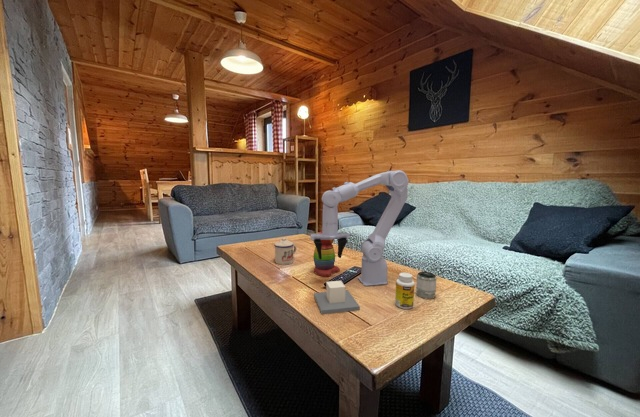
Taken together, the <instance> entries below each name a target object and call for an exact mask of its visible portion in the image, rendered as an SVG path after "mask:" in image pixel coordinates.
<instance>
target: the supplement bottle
mask: <svg viewBox="0 0 640 417" xmlns="http://www.w3.org/2000/svg"><path fill="white" fill-rule="evenodd" d="M415 284H416V283H415V281H414V280H413V274H411V273H410V272H400V273H399V274H398V278H397V279H396V282H395V297H394V298H395V299H394V301H395V302H394V304H395V305H396V307H398V308H400V309H405V310H409V309H412V308H413V307H414V302H415V300H414V299H415V286H416V285H415Z"/></svg>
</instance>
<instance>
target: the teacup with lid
mask: <svg viewBox="0 0 640 417" xmlns="http://www.w3.org/2000/svg"><path fill="white" fill-rule="evenodd" d="M296 252H297V245H295V244H294V242H292V241H290V240H288V239H287V238H286V237H282V238H281V239H279V241H276V242H275V243H274V261H275V262H274V263H276V264H277V265H281V266H282V265H283V266H284V265H290V264H293V262H294V255H295V254H296Z"/></svg>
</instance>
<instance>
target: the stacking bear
mask: <svg viewBox="0 0 640 417" xmlns="http://www.w3.org/2000/svg"><path fill="white" fill-rule="evenodd" d="M320 233H322V230H321V231H320V232H318V233H317V234H320ZM334 241H335V239H327V240H321V243H322V248H321V255H322V258H321V259H319V257H318V252H317V249H316V246H315V247H314V251H313V263H314V269H313V272H314V273H315V275H318V276H320V277H324V278H328V277H329V278H330V277H331V276H332V274H335V273H339V272H340V267H339V266H337V265H335V262H336V253H335V248H334V245H333V242H334Z"/></svg>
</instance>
